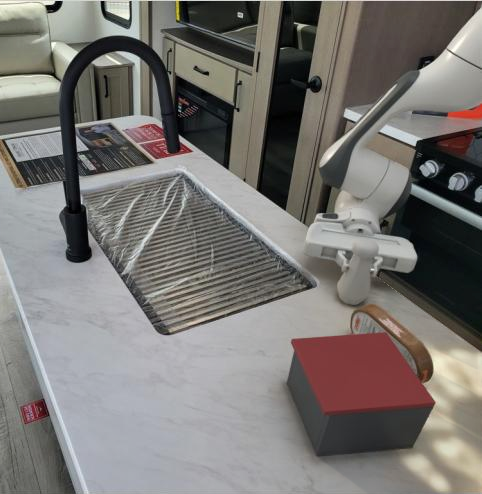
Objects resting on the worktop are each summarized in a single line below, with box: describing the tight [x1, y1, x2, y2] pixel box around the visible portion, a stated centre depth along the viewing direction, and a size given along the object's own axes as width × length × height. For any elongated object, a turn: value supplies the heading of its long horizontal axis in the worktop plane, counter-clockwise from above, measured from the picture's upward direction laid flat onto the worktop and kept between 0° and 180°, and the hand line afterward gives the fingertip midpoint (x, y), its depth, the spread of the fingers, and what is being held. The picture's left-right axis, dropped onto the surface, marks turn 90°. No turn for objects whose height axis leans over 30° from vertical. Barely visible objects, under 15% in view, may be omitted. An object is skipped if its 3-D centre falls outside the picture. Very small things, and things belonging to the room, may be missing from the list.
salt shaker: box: [336, 238, 379, 306], centre depth 88 cm, size 6×6×13 cm
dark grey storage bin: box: [286, 350, 434, 457], centre depth 67 cm, size 14×13×9 cm
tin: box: [349, 303, 435, 384], centre depth 76 cm, size 15×3×8 cm, turn 22°
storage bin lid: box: [290, 332, 437, 416], centre depth 65 cm, size 14×13×1 cm
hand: (359, 271), depth 87 cm, fingers closed on salt shaker, 3 cm apart
